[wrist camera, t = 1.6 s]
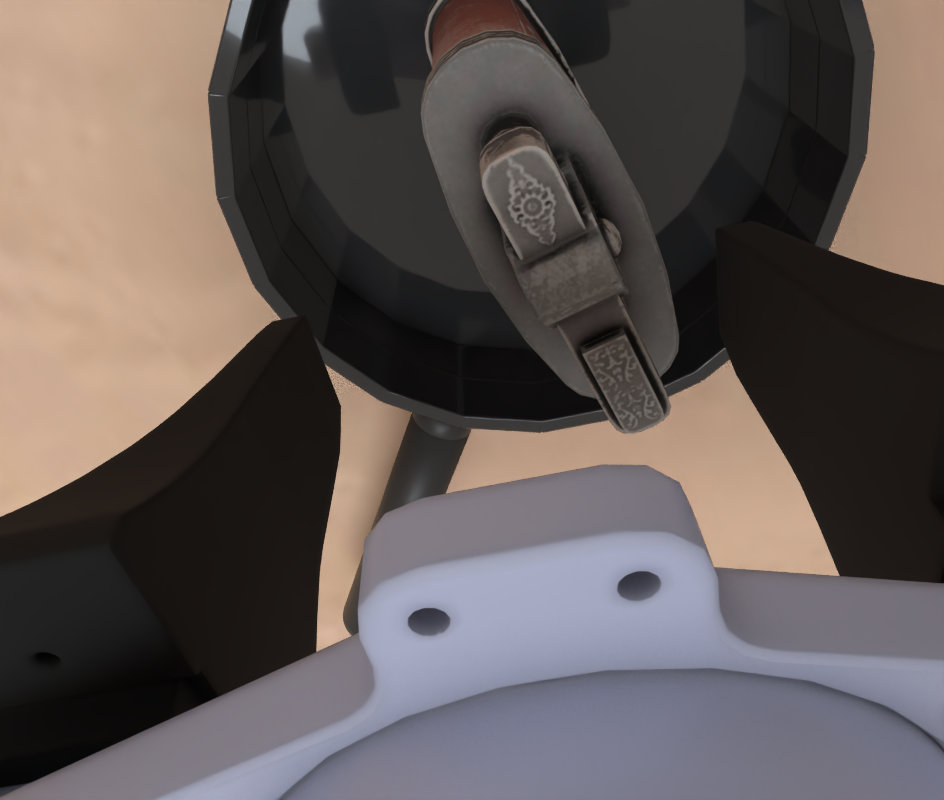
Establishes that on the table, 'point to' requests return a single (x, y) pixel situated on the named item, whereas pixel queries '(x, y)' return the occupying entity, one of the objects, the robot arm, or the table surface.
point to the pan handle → (414, 480)
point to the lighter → (548, 206)
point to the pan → (425, 207)
